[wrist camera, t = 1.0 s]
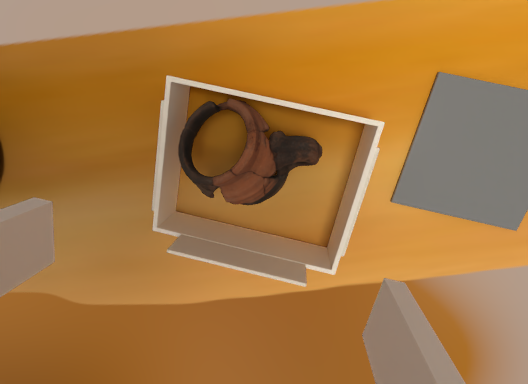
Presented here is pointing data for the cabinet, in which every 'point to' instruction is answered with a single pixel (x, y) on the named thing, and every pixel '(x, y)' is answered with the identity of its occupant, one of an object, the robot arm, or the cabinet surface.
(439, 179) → the slate mat
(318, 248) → the carton
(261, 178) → the pottery mug
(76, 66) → the cabinet surface
